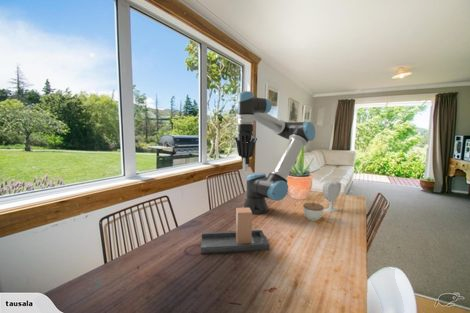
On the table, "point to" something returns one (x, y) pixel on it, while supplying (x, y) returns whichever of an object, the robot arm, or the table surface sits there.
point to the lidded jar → (313, 211)
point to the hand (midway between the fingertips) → (245, 170)
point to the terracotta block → (243, 225)
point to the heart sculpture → (331, 194)
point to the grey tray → (232, 242)
